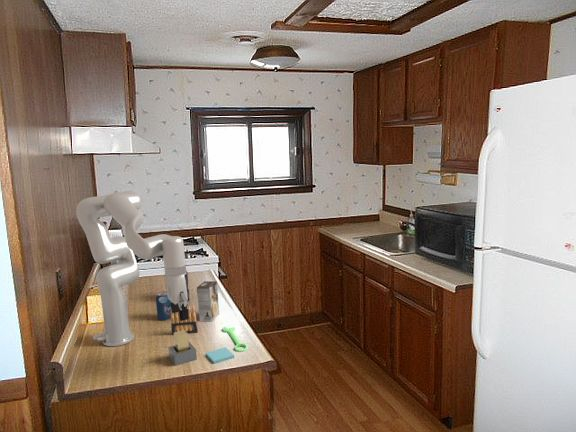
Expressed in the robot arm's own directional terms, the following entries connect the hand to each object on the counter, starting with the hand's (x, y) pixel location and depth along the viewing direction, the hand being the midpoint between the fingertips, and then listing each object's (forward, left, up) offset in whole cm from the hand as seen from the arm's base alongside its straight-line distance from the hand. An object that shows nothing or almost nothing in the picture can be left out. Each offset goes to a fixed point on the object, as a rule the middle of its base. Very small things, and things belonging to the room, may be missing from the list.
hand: (180, 315), depth 164 cm
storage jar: (+19, +63, -17) cm, 68 cm away
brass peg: (0, +1, -17) cm, 17 cm away
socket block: (0, 0, -17) cm, 17 cm away
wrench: (+23, +4, -17) cm, 29 cm away
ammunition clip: (+8, +23, -17) cm, 29 cm away
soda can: (+6, +44, -17) cm, 48 cm away
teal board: (+12, -7, -17) cm, 21 cm away
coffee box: (+23, +33, -17) cm, 43 cm away
